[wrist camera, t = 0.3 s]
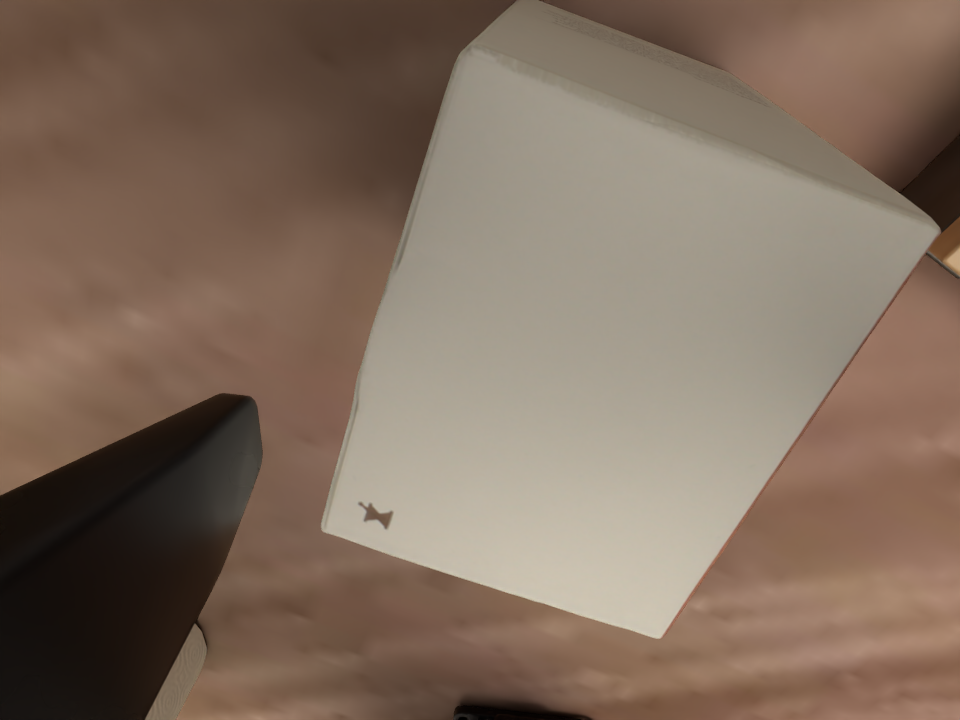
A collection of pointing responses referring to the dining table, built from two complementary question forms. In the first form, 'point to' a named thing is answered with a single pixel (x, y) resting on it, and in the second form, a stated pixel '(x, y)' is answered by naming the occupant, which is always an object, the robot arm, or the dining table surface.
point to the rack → (941, 205)
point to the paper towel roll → (180, 678)
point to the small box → (607, 320)
